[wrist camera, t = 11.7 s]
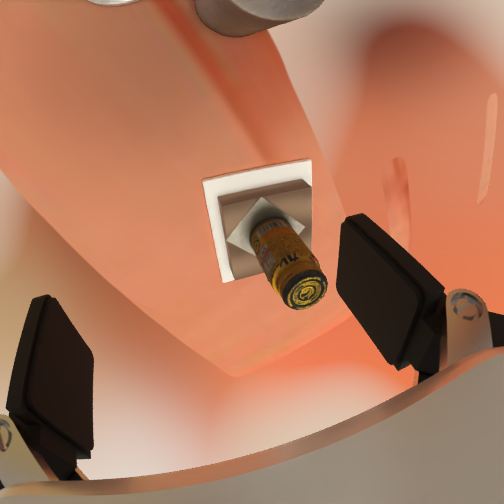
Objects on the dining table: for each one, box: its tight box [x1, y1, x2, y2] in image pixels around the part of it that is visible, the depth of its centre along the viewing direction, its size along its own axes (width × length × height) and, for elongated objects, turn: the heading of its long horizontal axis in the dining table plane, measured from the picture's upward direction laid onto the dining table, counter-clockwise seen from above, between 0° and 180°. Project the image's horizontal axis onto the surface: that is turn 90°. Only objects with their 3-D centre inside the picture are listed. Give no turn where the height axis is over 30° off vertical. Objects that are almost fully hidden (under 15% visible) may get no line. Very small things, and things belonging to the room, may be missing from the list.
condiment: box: [226, 197, 328, 310], centre depth 37 cm, size 7×8×12 cm
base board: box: [202, 159, 312, 283], centre depth 45 cm, size 17×15×1 cm
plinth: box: [217, 179, 312, 280], centre depth 43 cm, size 12×12×3 cm
